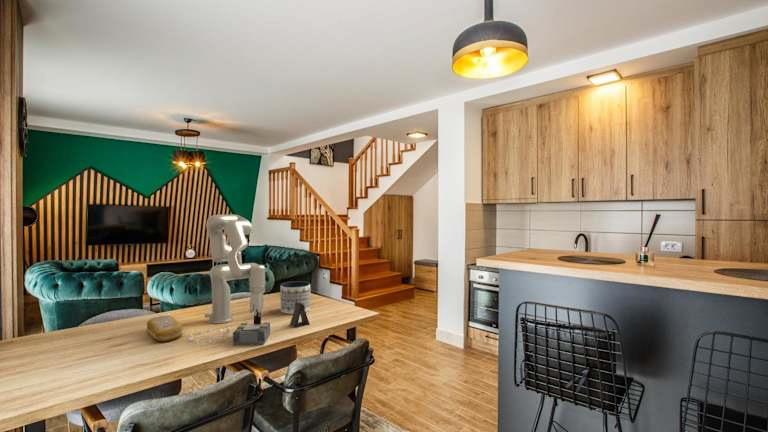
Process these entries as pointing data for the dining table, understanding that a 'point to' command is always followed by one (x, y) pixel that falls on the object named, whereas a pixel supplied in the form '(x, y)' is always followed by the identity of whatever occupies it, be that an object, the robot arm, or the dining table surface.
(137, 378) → the dining table surface
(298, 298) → the planter
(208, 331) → the game piece set
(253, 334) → the block
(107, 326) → the dining table surface
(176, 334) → the bread
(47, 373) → the dining table surface
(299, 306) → the dark grey a-shaped piece
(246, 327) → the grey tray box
